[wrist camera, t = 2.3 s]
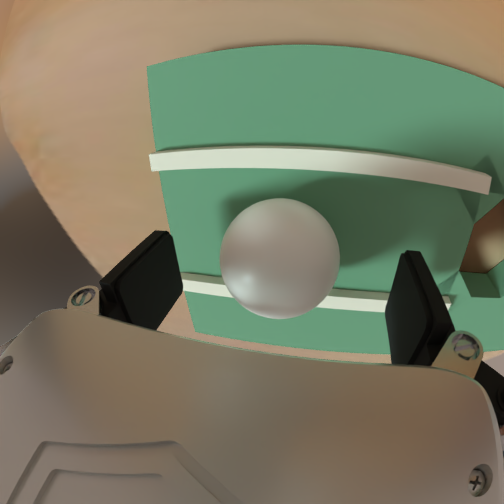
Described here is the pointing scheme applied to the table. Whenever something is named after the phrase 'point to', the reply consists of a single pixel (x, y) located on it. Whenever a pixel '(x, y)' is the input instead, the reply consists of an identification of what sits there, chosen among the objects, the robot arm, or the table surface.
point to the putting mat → (331, 179)
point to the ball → (279, 258)
